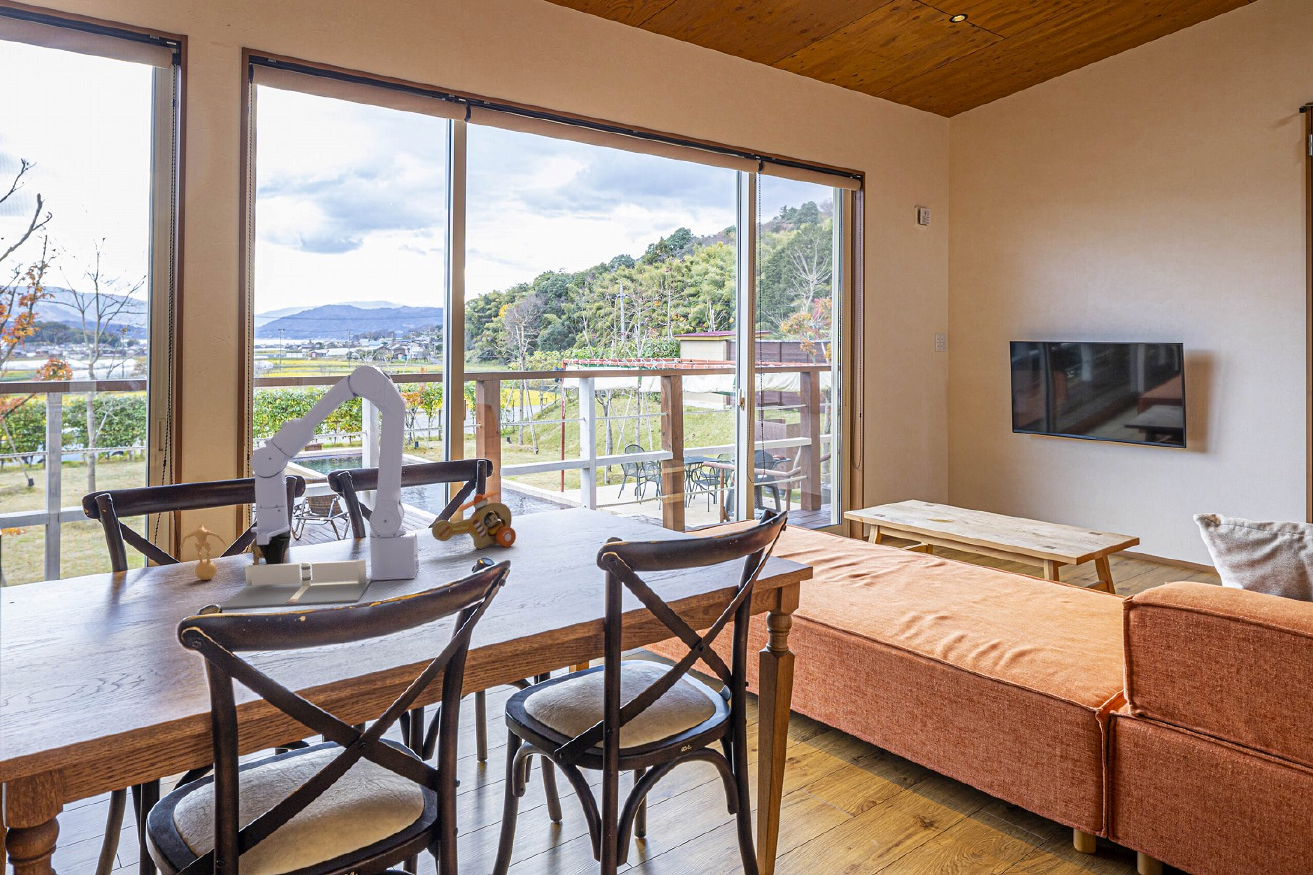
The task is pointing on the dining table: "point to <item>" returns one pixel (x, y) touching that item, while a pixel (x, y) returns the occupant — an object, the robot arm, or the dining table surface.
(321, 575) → the fixed fence section
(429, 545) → the dining table surface
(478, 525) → the toy helicopter
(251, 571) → the hinged fence panel
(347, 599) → the board
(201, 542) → the figurine
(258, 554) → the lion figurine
